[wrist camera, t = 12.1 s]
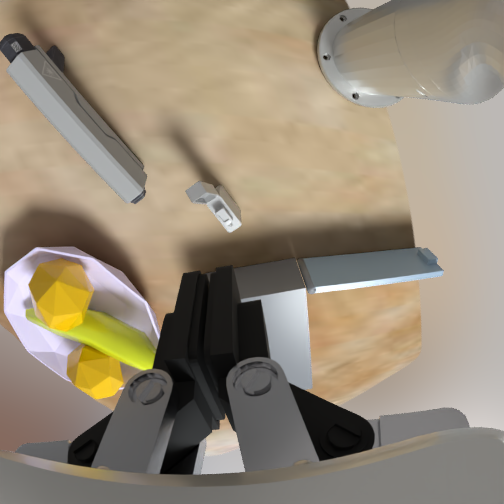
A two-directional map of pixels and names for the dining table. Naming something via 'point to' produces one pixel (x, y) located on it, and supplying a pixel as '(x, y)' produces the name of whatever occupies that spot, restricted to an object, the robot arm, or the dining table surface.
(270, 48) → the dining table surface
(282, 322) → the grey block
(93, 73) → the dining table surface
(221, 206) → the pale grey angled bracket
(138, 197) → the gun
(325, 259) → the side door
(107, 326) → the fruit bowl
